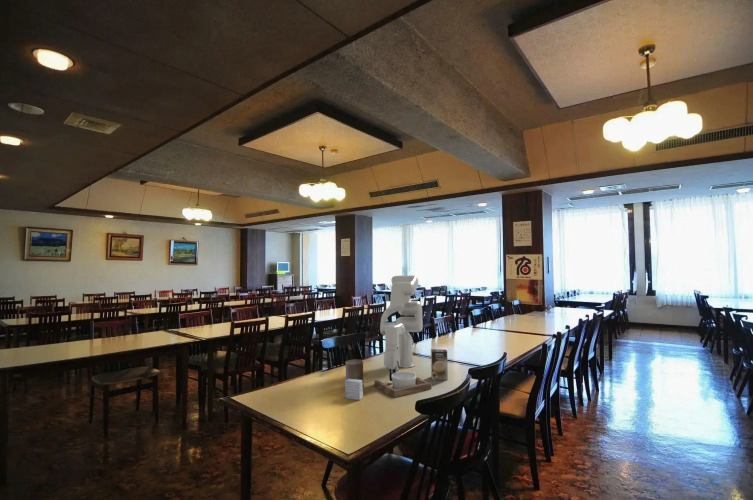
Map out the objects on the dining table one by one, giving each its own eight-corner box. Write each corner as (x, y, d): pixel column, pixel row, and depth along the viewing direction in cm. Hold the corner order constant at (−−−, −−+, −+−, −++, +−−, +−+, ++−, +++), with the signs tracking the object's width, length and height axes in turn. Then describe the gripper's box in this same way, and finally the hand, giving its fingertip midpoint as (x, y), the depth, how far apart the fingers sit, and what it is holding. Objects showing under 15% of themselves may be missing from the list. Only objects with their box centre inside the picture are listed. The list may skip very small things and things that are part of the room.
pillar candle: (367, 386, 194) (366, 358, 195) (354, 391, 187) (353, 362, 188) (355, 383, 201) (354, 356, 202) (341, 387, 194) (341, 359, 195)
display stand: (374, 386, 195) (374, 380, 195) (408, 379, 206) (408, 373, 207) (395, 397, 177) (395, 391, 177) (431, 388, 189) (431, 383, 189)
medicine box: (363, 397, 178) (362, 379, 178) (359, 400, 174) (359, 382, 174) (348, 395, 180) (348, 378, 181) (344, 399, 176) (344, 381, 177)
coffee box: (431, 380, 204) (431, 351, 205) (431, 376, 210) (430, 349, 211) (448, 380, 203) (447, 351, 204) (447, 376, 209) (446, 349, 210)
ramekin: (408, 394, 182) (408, 380, 182) (386, 389, 189) (386, 376, 189) (420, 387, 192) (420, 373, 193) (399, 382, 200) (399, 370, 200)
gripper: (379, 345, 205) (379, 378, 204) (393, 350, 193) (394, 385, 192) (390, 344, 209) (390, 375, 208) (405, 348, 197) (405, 382, 196)
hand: (392, 380), depth 200 cm, fingers closed
